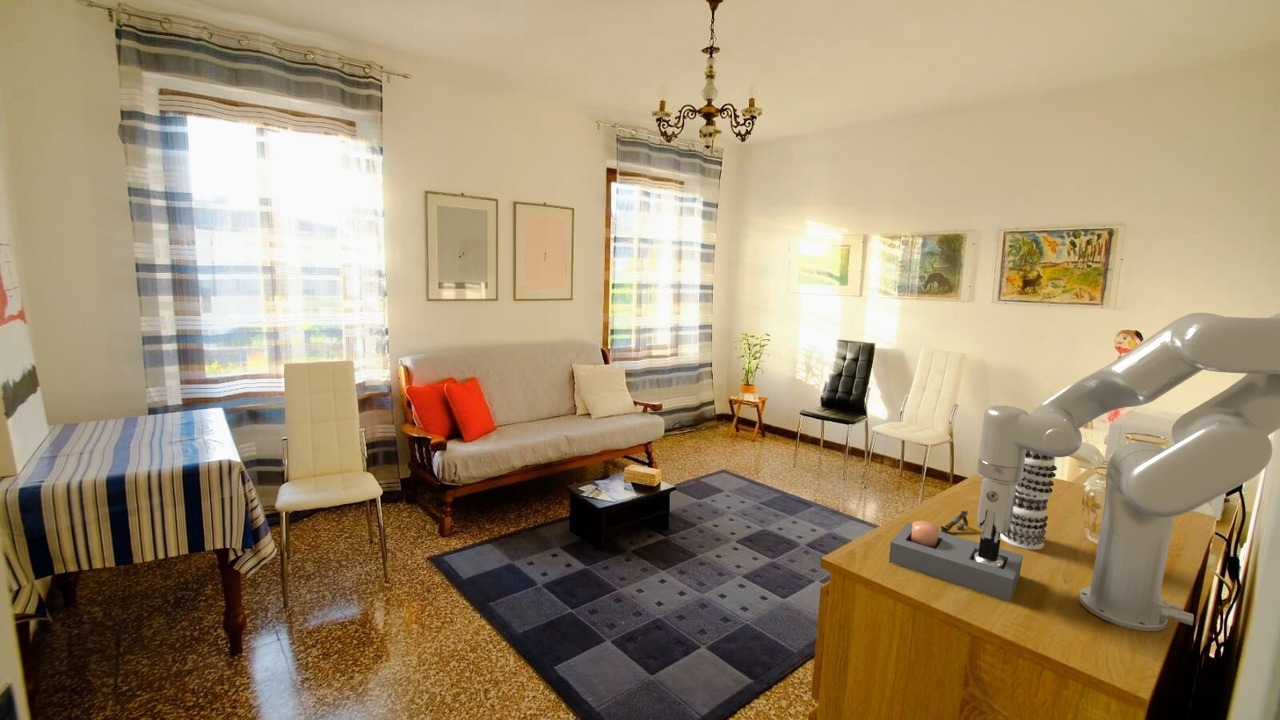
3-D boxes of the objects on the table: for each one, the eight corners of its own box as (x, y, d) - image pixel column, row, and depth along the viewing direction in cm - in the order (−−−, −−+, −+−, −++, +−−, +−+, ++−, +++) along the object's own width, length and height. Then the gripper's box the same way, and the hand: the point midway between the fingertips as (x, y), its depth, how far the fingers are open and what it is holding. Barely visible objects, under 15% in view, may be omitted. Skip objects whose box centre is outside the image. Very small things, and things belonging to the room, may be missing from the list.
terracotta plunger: (939, 543, 125) (941, 525, 124) (933, 551, 121) (935, 533, 121) (914, 535, 128) (916, 518, 128) (907, 544, 125) (909, 526, 124)
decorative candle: (1006, 547, 131) (1020, 439, 127) (992, 529, 140) (1005, 427, 135) (1052, 553, 129) (1069, 443, 124) (1035, 533, 138) (1050, 430, 133)
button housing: (1019, 575, 119) (1022, 555, 119) (1010, 601, 110) (1013, 579, 109) (905, 541, 133) (907, 522, 132) (888, 561, 124) (890, 542, 123)
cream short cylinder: (1003, 575, 118) (1005, 557, 117) (998, 586, 114) (1001, 567, 114) (975, 567, 121) (977, 549, 121) (969, 577, 118) (972, 558, 117)
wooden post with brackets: (973, 524, 140) (970, 509, 139) (950, 543, 138) (947, 528, 136) (966, 521, 142) (963, 506, 140) (943, 539, 139) (940, 524, 138)
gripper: (1016, 486, 106) (1003, 579, 109) (1028, 464, 117) (1015, 549, 121) (969, 475, 111) (958, 565, 114) (985, 455, 122) (974, 538, 125)
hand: (987, 557), depth 117 cm, fingers closed
